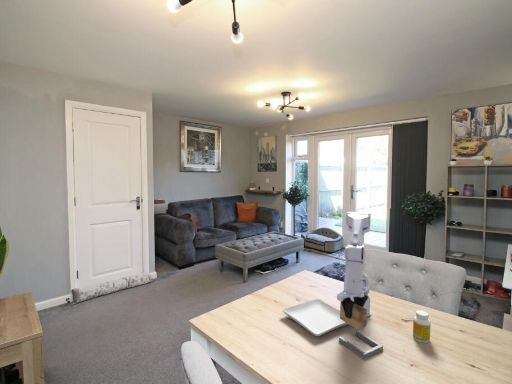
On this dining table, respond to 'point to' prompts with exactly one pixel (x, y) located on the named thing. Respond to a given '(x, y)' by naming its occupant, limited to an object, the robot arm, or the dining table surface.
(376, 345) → the bay
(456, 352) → the dining table surface
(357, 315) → the tan cardboard box
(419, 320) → the supplement bottle
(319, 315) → the salad plate
